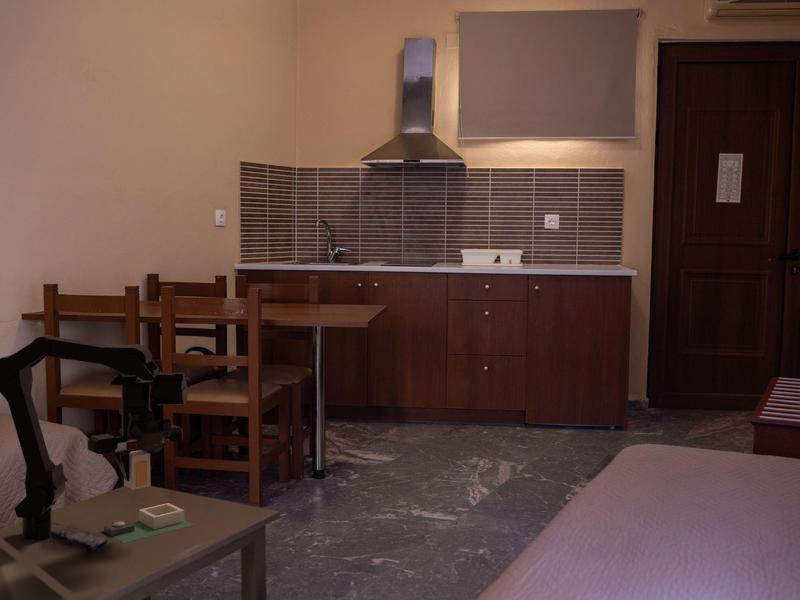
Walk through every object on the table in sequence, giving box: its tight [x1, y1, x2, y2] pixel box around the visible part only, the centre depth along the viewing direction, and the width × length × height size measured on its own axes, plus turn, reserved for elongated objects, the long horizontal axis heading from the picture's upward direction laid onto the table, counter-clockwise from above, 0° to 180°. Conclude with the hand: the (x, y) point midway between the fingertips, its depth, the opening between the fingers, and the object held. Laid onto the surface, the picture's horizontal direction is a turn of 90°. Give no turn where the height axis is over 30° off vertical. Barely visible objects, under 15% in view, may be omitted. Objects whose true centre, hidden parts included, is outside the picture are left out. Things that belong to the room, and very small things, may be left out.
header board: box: [102, 502, 194, 544], centre depth 173 cm, size 10×16×4 cm, turn 134°
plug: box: [123, 449, 151, 491], centre depth 169 cm, size 4×4×7 cm
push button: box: [103, 520, 134, 537], centre depth 171 cm, size 5×5×2 cm
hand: (137, 478), depth 169 cm, fingers closed on plug, 4 cm apart
